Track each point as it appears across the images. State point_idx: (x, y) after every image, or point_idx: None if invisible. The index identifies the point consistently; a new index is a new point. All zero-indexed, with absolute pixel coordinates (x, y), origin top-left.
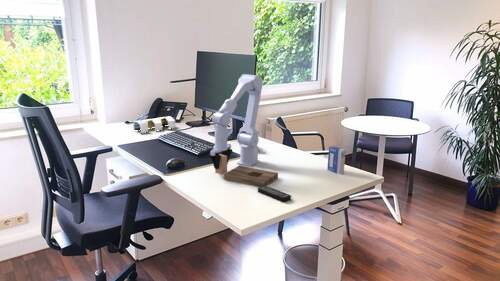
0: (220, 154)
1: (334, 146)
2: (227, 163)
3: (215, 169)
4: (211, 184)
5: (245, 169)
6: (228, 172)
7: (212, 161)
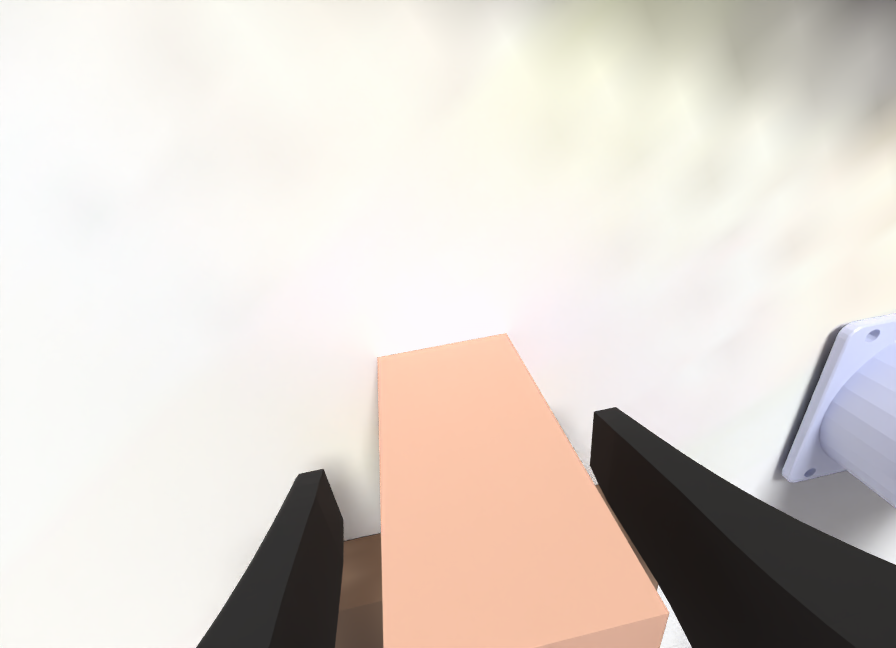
0: (660, 628)
1: None
2: (606, 481)
3: (378, 394)
4: (55, 578)
5: None
6: (363, 616)
7: (210, 630)
